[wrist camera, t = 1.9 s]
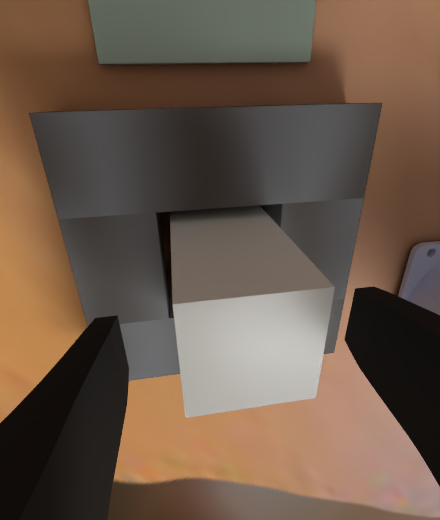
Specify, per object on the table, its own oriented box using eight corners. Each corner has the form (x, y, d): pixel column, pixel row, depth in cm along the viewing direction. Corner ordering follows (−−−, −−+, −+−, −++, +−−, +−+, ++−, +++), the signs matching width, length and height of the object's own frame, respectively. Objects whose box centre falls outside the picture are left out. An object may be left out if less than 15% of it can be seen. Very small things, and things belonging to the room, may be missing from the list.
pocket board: (346, 103, 13) (382, 102, 11) (314, 323, 19) (333, 352, 17) (54, 111, 12) (28, 112, 10) (111, 348, 17) (103, 384, 15)
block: (254, 199, 15) (335, 286, 8) (252, 272, 16) (316, 397, 9) (169, 205, 14) (172, 304, 7) (177, 279, 16) (185, 417, 9)
